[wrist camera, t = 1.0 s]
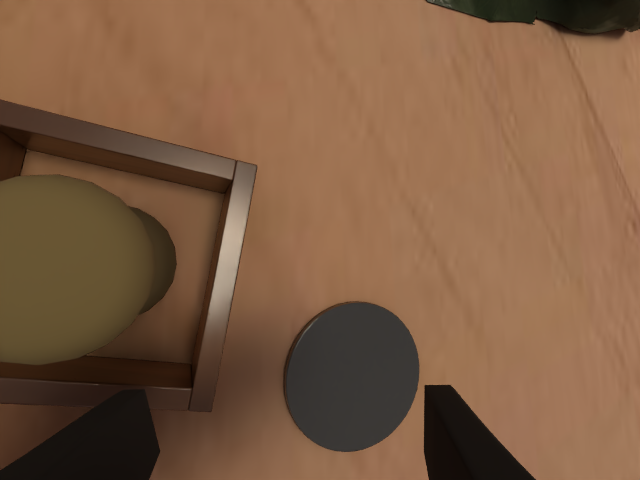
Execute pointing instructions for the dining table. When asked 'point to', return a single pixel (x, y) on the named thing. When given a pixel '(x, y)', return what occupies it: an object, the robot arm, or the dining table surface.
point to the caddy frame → (237, 183)
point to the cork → (74, 267)
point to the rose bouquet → (556, 12)
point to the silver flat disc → (351, 376)
